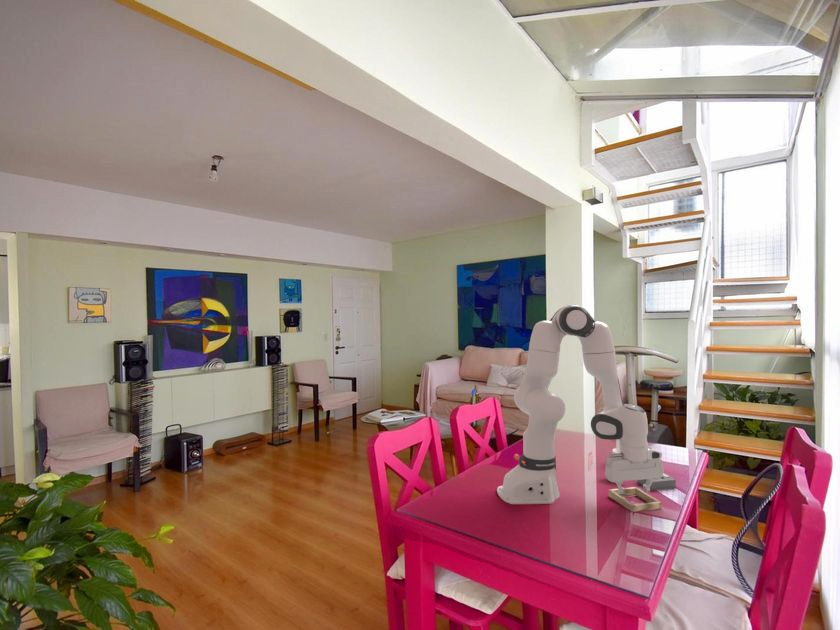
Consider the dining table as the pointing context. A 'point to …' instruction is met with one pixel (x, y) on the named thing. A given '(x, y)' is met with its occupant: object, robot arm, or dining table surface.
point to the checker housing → (660, 483)
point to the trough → (637, 492)
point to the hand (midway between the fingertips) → (634, 491)
